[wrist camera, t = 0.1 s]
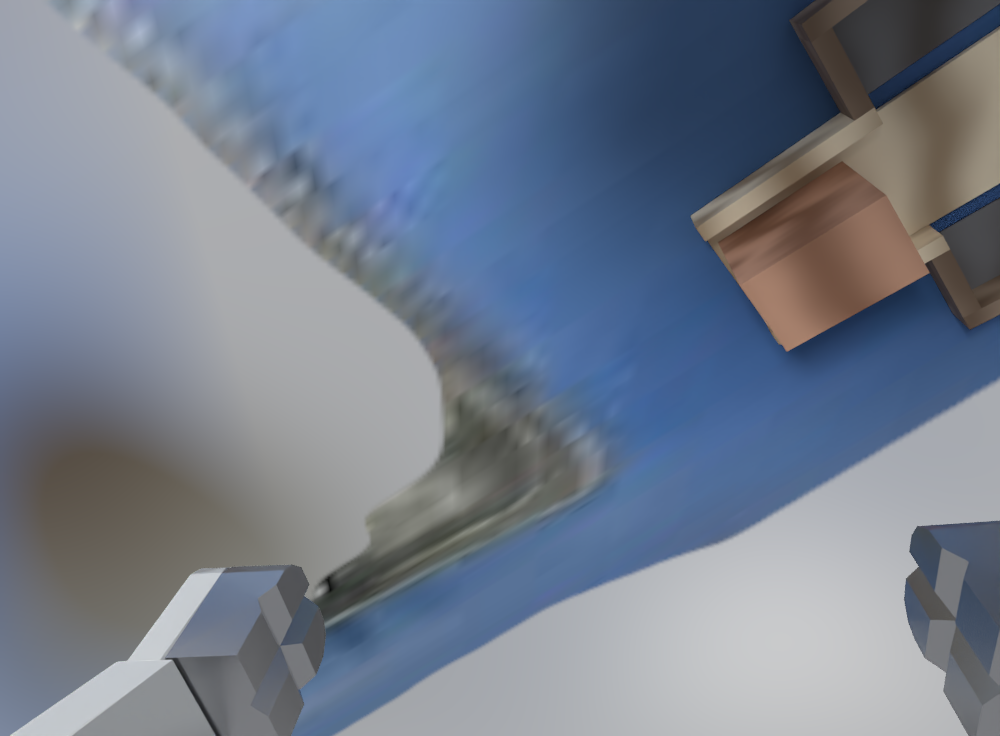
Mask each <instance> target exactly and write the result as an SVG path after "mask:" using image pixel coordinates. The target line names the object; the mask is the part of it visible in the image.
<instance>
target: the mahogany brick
mask: <svg viewBox="0 0 1000 736" xmlns="http://www.w3.org/2000/svg"><path fill="white" fill-rule="evenodd" d="M718 244H719V246H720V248H721V250H722V252H723V253H724V255H725V257H726V259H727V261H728V263H729V265H730V267H731V269H732V271H733V273H734V275H735V277H736V279H737V281H738V283H739V285H740V286H741V288H742V289H743V291H744V292H745V293H746V295H747V296H748V298H749V299H750V300H751V302H752V303H753V305H754V306H755V307H756V309H757V310H758V312H759V313H760V314H761V316H762V317H763V319H764V320H765V321H766V323H767V324H768V326H769V327H770V329H771V330H772V331H773V333H774V334H775V336H776V337H777V338H778V340H779V341H780V343H781V344H782V345H783V347H784V348H785V350H786V351H789V350H791V349H793V348H795V347H796V346H798V345H800V344H802V343H804V342H806V341H807V340H809V339H811V338H813V337H815V336H816V335H818V334H820V333H822V332H824V331H825V330H827V329H829V328H831V327H833V326H835V325H836V324H838V323H840V322H842V321H844V320H845V319H847V318H849V317H851V316H853V315H854V314H856V313H858V312H860V311H862V310H864V309H865V308H867V307H869V306H871V305H873V304H874V303H876V302H878V301H880V300H882V299H883V298H885V297H887V296H889V295H891V294H893V293H894V292H896V291H898V290H900V289H902V288H903V287H905V286H907V285H909V284H911V283H912V282H914V281H916V280H918V279H920V278H921V277H923V276H925V275H927V274H929V273H930V272H929V271H928V269H927V267H926V265H925V263H924V262H923V260H922V258H921V256H920V255H919V253H918V251H917V249H916V247H915V246H914V244H913V242H912V240H911V238H910V237H909V235H908V233H907V231H906V229H905V228H904V226H903V224H902V222H901V220H900V219H899V217H898V215H897V213H896V212H895V210H894V208H893V206H892V204H891V203H890V201H889V199H888V197H887V195H886V194H884V193H883V192H882V191H880V190H879V189H878V188H876V187H875V186H874V185H873V184H871V183H870V182H869V181H867V180H866V179H865V178H863V177H862V176H861V175H860V174H858V173H857V172H856V171H854V170H853V169H852V168H850V167H849V166H848V165H847V164H845V163H844V162H843V161H841V162H840V163H838V164H837V165H835V166H834V167H832V168H831V169H829V170H828V171H826V172H825V173H823V174H822V175H820V176H819V177H817V178H816V179H814V180H812V181H811V182H809V183H808V184H806V185H805V186H803V187H802V188H800V189H799V190H797V191H796V192H794V193H793V194H791V195H790V196H788V197H787V198H785V199H784V200H782V201H780V202H779V203H777V204H776V205H774V206H773V207H771V208H770V209H768V210H767V211H765V212H764V213H762V214H761V215H759V216H758V217H756V218H755V219H753V220H751V221H750V222H748V223H747V224H745V225H744V226H742V227H741V228H739V229H738V230H736V231H735V232H733V233H732V234H730V235H729V236H727V237H726V238H724V239H723V240H721V241H719V242H718Z"/></svg>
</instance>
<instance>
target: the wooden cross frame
mask: <svg viewBox="0 0 1000 736" xmlns="http://www.w3.org/2000/svg"><path fill="white" fill-rule="evenodd" d="M999 4H1000V0H815V1H814V2H813V3H811V4H810V5H809V6H807V7H806V8H805V9H803V10H802V11H801V12H800V13H798V14H797V15H796V16H794V17H793V18H792V19H791V20H789V21H790V23H791V25H792V26H793V28H794V30H795V32H796V33H797V35H798V37H799V39H800V41H801V42H802V44H803V46H804V48H805V50H806V51H807V53H808V55H809V57H810V59H811V60H812V62H813V64H814V66H815V68H816V69H817V71H818V73H819V75H820V76H821V78H822V80H823V82H824V84H825V85H826V87H827V89H828V91H829V93H830V94H831V96H832V98H833V100H834V102H835V103H836V105H837V107H838V109H839V111H840V112H841V113H839V114H838V115H836V116H835V117H833V118H832V119H830V120H829V121H827V122H826V123H825V124H823V125H822V126H820V127H819V128H817V129H816V130H814V131H813V132H812V133H810V134H809V135H807V136H806V137H804V138H803V139H801V140H800V141H798V142H797V143H796V144H794V145H793V146H791V147H790V148H788V149H787V150H785V151H784V152H782V153H781V154H780V155H778V156H777V157H775V158H774V159H772V160H771V161H769V162H768V163H766V164H765V165H764V166H762V167H761V168H759V169H758V170H756V171H755V172H753V173H752V174H750V175H749V176H748V177H746V178H745V179H743V180H742V181H740V182H739V183H737V184H736V185H735V186H733V187H732V188H730V189H729V190H727V191H726V192H724V193H723V194H721V195H720V196H719V197H717V198H716V199H714V200H713V201H711V202H710V203H708V204H707V205H705V206H704V207H703V208H701V209H700V210H698V211H697V212H695V213H694V214H692V215H691V219H692V221H693V223H694V225H695V227H696V229H697V230H698V232H699V233H700V235H701V236H702V237H703V239H704V240H705V242H706V241H708V242H709V244H710V245H711V246H712V248H713V249H714V251H715V252H716V253H717V255H718V256H719V258H720V259H721V260H722V262H723V263H724V265H725V266H726V267H727V269H728V270H729V272H730V273H731V274H732V276H733V277H734V279H735V280H736V281H737V279H736V277H735V275H734V273H733V271H732V269H731V267H730V265H729V263H728V261H727V259H726V257H725V255H724V253H723V252H722V250H721V248H720V246H719V244H718V242H719V241H721V240H723V239H724V238H726V237H727V236H729V235H730V234H732V233H733V232H735V231H736V230H738V229H739V228H741V227H742V226H744V225H745V224H747V223H748V222H750V221H751V220H753V219H755V218H756V217H758V216H759V215H761V214H762V213H764V212H765V211H767V210H768V209H770V208H771V207H773V206H774V205H776V204H777V203H779V202H780V201H782V200H784V199H785V198H787V197H788V196H790V195H791V194H793V193H794V192H796V191H797V190H799V189H800V188H802V187H803V186H805V185H806V184H808V183H809V182H811V181H812V180H814V179H816V178H817V177H819V176H820V175H822V174H823V173H825V172H826V171H828V170H829V169H831V168H832V167H834V166H835V165H837V164H838V163H840V162H841V161H843V162H844V163H845V164H847V165H848V166H849V167H850V168H852V169H853V170H854V171H856V172H857V173H858V174H860V175H861V176H862V177H863V178H865V179H866V180H867V181H869V182H870V183H871V184H873V185H874V186H875V187H876V188H878V189H879V190H880V191H882V192H883V193H884V194H886V195H887V197H888V199H889V201H890V203H891V204H892V206H893V208H894V210H895V212H896V213H897V215H898V217H899V219H900V220H901V222H902V224H903V226H904V228H905V229H906V231H907V233H908V235H909V237H910V238H911V240H912V242H913V244H914V246H915V247H916V249H917V251H918V253H919V255H920V256H921V258H922V260H923V262H924V263H925V265H926V266H927V268H928V270H929V272H930V274H931V275H932V277H933V279H934V281H935V283H936V284H937V286H938V288H939V290H940V292H941V293H942V295H943V297H944V299H945V301H946V302H947V304H948V306H949V308H950V309H951V311H952V313H953V314H954V315H955V316H956V317H957V318H958V319H959V320H960V321H961V322H962V323H963V324H964V325H965V326H966V327H967V328H969V329H972V328H974V327H976V326H978V325H980V324H982V323H984V322H986V321H988V320H990V319H992V318H994V317H996V316H998V315H1000V198H998V199H996V200H995V201H993V202H991V203H989V204H988V205H986V206H984V207H982V208H981V209H979V210H977V211H975V212H974V213H972V214H970V215H969V216H967V217H965V218H963V219H962V220H960V221H958V222H956V223H955V224H953V225H951V226H949V227H948V228H946V229H944V230H942V231H941V232H937V231H936V230H935V229H933V228H932V227H931V226H929V224H931V223H933V222H934V221H936V220H938V219H939V218H941V217H943V216H945V215H946V214H948V213H950V212H951V211H953V210H955V209H957V208H958V207H960V206H962V205H964V204H965V203H967V202H969V201H970V200H972V199H974V198H976V197H977V196H979V195H981V194H982V193H984V192H986V191H988V190H989V189H991V188H993V187H994V186H996V185H998V184H1000V26H999V27H998V28H996V29H995V30H993V31H992V32H990V33H989V34H987V35H986V36H985V37H983V38H982V39H980V40H979V41H977V42H976V43H974V44H973V45H971V46H970V47H968V48H967V49H965V50H964V51H962V52H961V53H959V54H958V55H956V56H955V57H953V58H952V59H950V60H949V61H947V62H946V63H944V64H943V65H942V66H940V67H939V68H937V69H936V70H934V71H933V72H931V73H930V74H928V75H927V76H925V77H924V78H922V79H921V80H919V81H918V82H916V83H915V84H913V85H912V86H910V87H909V88H907V89H906V90H904V91H903V92H902V93H900V94H899V95H897V96H896V97H894V98H893V99H891V100H890V101H888V102H887V103H885V104H884V105H882V106H881V107H879V108H878V109H875V107H874V105H873V104H872V102H871V100H870V98H869V96H868V94H869V93H871V92H872V91H874V90H875V89H877V88H878V87H879V86H881V85H882V84H884V83H885V82H887V81H888V80H890V79H891V78H892V77H894V76H895V75H897V74H898V73H900V72H901V71H903V70H904V69H906V68H907V67H908V66H910V65H911V64H913V63H914V62H916V61H917V60H919V59H920V58H922V57H923V56H924V55H926V54H927V53H929V52H930V51H932V50H933V49H935V48H936V47H938V46H939V45H940V44H942V43H943V42H945V41H946V40H948V39H949V38H951V37H952V36H954V35H955V34H956V33H958V32H959V31H961V30H962V29H964V28H965V27H967V26H968V25H970V24H971V23H972V22H974V21H975V20H977V19H978V18H980V17H981V16H983V15H984V14H986V13H987V12H988V11H990V10H991V9H993V8H994V7H996V6H997V5H999ZM737 283H738V281H737ZM738 284H739V283H738ZM739 286H740V285H739ZM740 287H741V286H740ZM742 290H743V289H742ZM744 293H745V292H744ZM745 294H746V293H745ZM747 297H748V296H747ZM749 300H750V299H749ZM750 301H751V300H750ZM751 303H752V302H751ZM752 304H753V303H752ZM754 307H755V306H754ZM755 308H756V307H755ZM756 310H757V309H756ZM757 311H758V310H757ZM759 314H760V313H759ZM760 315H761V314H760ZM761 317H762V316H761ZM762 318H763V317H762ZM764 321H765V320H764ZM765 323H766V321H765ZM766 325H767V327H768V328H769V330H770V332H771V334H772V335H773V337H774V338H775V340H776V341H777V342H778V344H779V345H780V344H781V343H780V341H779V340H778V338H777V337H776V336H775V334H774V333H773V331H772V330H771V329H770V327H769V326H768V324H767V323H766Z"/></svg>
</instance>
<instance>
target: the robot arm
mask: <svg viewBox="0 0 1000 736" xmlns="http://www.w3.org/2000/svg"><path fill="white" fill-rule="evenodd" d="M910 553H911V555H912V556H913V558H914V559H915V561H916V563H917V564H918V566H919V567H918V568H917V569H916V570H915V571H914V572H913V573H912V574H911V575H909V576H908V577H907V578H906V585H905V597H904V600H905V606H906V612H907V617H908V622H909V625H910V628H911V630H912V633H913V636H914V638H915V641H916V642H917V644H918V646H919V648H920V650H921V651H922V654H923V655H924V657H925V658H926V659H927V660H929V661H930V662H932V663H933V664H935V665H936V666H938V667H939V668H940V669H942V670H943V671H945V672H946V679H945V685H944V693H945V695H946V697H947V698H948V700H949V702H950V704H951V705H952V707H953V709H954V711H955V713H956V714H957V716H958V718H959V720H960V721H961V723H962V725H963V727H964V728H965V730H966V732H967V734H968V735H969V736H1000V521H991V522H975V523H960V524H946V525H931V526H917V528H916V529H915V531H914V533H913V534H912V538H911V544H910ZM308 586H309V582H308V580H307V578H306V576H305V574H304V572H303V570H302V568H301V567H299V566H295V565H270V566H269V565H268V566H239V567H231V568H202V569H200V570H198V571H196V572H194V573H192V574H191V575H190V576H189V578H188V579H187V580H186V582H185V583H184V584H183V586H182V587H181V588H180V590H179V591H178V593H177V594H176V595H175V597H174V598H173V599H172V601H171V602H170V603H169V605H168V606H167V607H166V609H165V610H164V612H163V613H162V614H161V616H160V617H159V619H158V620H157V621H156V623H155V624H154V625H153V627H152V628H151V629H150V631H149V632H148V633H147V635H146V636H145V638H144V639H143V640H142V642H141V643H140V644H139V646H138V647H137V649H136V650H135V651H134V653H133V654H132V655H131V657H130V658H129V659H128V661H120V662H116V663H114V664H113V665H112V666H110V667H109V668H107V669H106V670H104V671H103V672H101V673H100V674H98V675H97V676H96V677H94V678H93V679H91V680H90V681H88V682H87V683H85V684H84V685H83V686H81V687H80V688H78V689H77V690H75V691H74V692H72V693H71V694H70V695H68V696H67V697H65V698H64V699H62V700H61V701H59V702H58V703H56V704H55V705H54V706H52V707H51V708H49V709H48V710H47V711H45V712H43V713H42V714H41V715H39V716H38V717H36V718H35V719H33V720H32V721H30V722H29V723H28V724H26V725H25V726H24V727H22V728H20V729H19V730H17V731H16V732H14V733H13V734H12V735H10V736H291V734H292V732H293V729H294V727H295V724H296V722H297V720H298V717H299V715H300V712H301V710H302V708H303V705H304V702H303V699H302V695H301V692H300V689H301V688H302V687H303V686H304V685H305V684H307V683H308V682H309V681H310V680H311V679H312V678H313V677H314V676H315V675H316V674H317V671H318V669H319V666H320V663H321V661H322V658H323V654H324V646H325V638H326V633H325V626H324V619H323V617H322V614H321V612H320V609H319V607H318V606H317V605H315V604H314V603H313V602H311V601H310V600H309V599H307V598H306V597H305V596H304V595H305V593H306V591H307V589H308Z"/></svg>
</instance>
